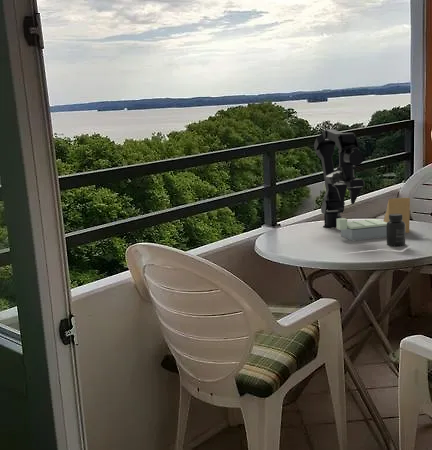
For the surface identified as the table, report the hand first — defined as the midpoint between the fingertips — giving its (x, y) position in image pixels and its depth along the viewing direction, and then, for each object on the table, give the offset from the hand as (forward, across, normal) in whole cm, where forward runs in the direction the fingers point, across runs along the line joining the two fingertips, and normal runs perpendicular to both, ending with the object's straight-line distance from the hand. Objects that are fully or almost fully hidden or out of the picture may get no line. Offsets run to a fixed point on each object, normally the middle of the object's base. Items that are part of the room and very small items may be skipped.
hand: (347, 202), depth 262 cm
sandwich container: (+14, +2, +20) cm, 25 cm away
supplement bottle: (+14, +26, +6) cm, 31 cm away
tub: (+13, +8, +3) cm, 16 cm away
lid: (+9, +8, +1) cm, 12 cm away
